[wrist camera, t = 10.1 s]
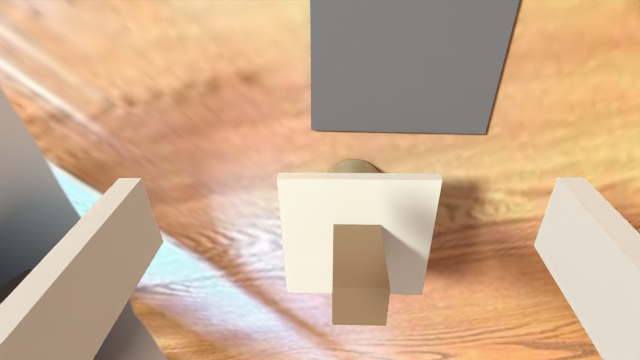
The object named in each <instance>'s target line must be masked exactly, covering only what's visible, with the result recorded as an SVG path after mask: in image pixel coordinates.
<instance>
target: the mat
mask: <svg viewBox="0 0 640 360" xmlns="http://www.w3.org/2000/svg"><path fill="white" fill-rule="evenodd" d="M519 1H520V0H310V9H311V130H316V131H363V132H409V133H456V134H485V133H486V129H487V125H488V121H489V117H490V113H491V109H492V106H493V102H494V98H495V94H496V90H497V86H498V82H499V78H500V75H501V71H502V67H503V63H504V59H505V55H506V51H507V47H508V44H509V40H510V36H511V32H512V28H513V24H514V20H515V16H516V13H517V9H518V5H519Z"/></svg>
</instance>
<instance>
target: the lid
mask: <svg viewBox="0 0 640 360" xmlns="http://www.w3.org/2000/svg"><path fill="white" fill-rule="evenodd" d="M441 185H442V178H441V176H440V173H278V177H277V186H278V197H279V208H280V219H281V229H282V240H283V251H284V262H285V273H286V283H287V292H298V293H332V322H333V324H335V325H380V326H386V321H387V312H388V304H389V295H390V294H406V295H422V292H423V286H424V281H425V275H426V269H427V264H428V258H429V253H430V247H431V241H432V236H433V230H434V224H435V219H436V213H437V208H438V202H439V196H440V191H441Z"/></svg>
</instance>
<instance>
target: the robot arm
mask: <svg viewBox="0 0 640 360" xmlns="http://www.w3.org/2000/svg"><path fill="white" fill-rule="evenodd" d="M162 243H163V239H162V236H161V234H160V231H159V228H158V225H157V222H156V219H155V216H154V213H153V210H152V207H151V204H150V202H149V199H148V196H147V193H146V190H145V187H144V184H143V181H142V178H119V179H118V180H117V181H116V182H115V183H114V184H113V185H112V186H111V187H110V188H109V189H108V191H107V192H106V193H105V194H104V195H103V196H102V197H101V198H100V199H99V200H98V201H97V202H96V203H95V204H94V205H93V207H92V208H91V209H90V210H89V211H88V212H87V213H86V214H85V215H84V216H83V217H82V218H81V219H80V220H79V221H78V223H77V224H76V225H75V226H74V227H73V228H72V229H71V230H70V231H69V232H68V233H67V234H66V235H65V236H64V237H63V238H62V240H61V241H60V242H59V243H58V244H57V245H56V246H55V247H54V248H53V249H52V250H51V251H50V252H49V253H48V254H47V255H46V257H45V258H44V259H43V260H42V261H41V262H40V263H39V264H38V265H37V266H36V267H35V268H34V269H33V270H25V271H24V272H22V273H21V274H19V275H18V276H17V277H15V278H13V279H12V280H10V281H9V282H7V283H6V284H5V285H4V286H3V287H2V288H1V289H0V360H93V358H94V356H95V355H96V353H97V351H98V350H99V348H100V346H101V345H102V343H103V341H104V339H105V338H106V336H107V335H108V333H109V331H110V330H111V328H112V326H113V324H114V323H115V321H116V320H117V318H118V316H119V315H120V313H121V311H122V309H123V308H124V306H125V305H126V303H127V301H128V300H129V298H130V296H131V295H132V293H133V291H134V290H135V288H136V286H137V285H138V283H139V281H140V280H141V278H142V276H143V275H144V273H145V271H146V270H147V268H148V266H149V265H150V263H151V261H152V260H153V258H154V256H155V255H156V253H157V251H158V250H159V248H160V246H161V245H162ZM534 247H535V248H536V250H537V252H538V253H539V255H540V256H541V258H542V260H543V261H544V263H545V265H546V266H547V268H548V270H549V271H550V273H551V275H552V276H553V278H554V280H555V281H556V283H557V285H558V286H559V288H560V289H561V291H562V293H563V294H564V296H565V298H566V299H567V301H568V303H569V304H570V306H571V308H572V309H573V311H574V313H575V314H576V316H577V318H578V319H579V321H580V322H581V324H582V326H583V327H584V329H585V331H586V332H587V334H588V336H589V337H590V339H591V341H592V342H593V344H594V346H595V347H596V349H597V351H598V352H599V354H600V355H601V357H602V359H603V360H640V234H639V233H638V232H637V231H636V230H635V229H634V228H633V227H632V226H631V225H630V224H629V223H628V222H627V221H626V220H625V219H624V218H623V217H622V216H621V215H620V214H619V213H618V211H617V210H616V209H615V208H614V207H613V206H612V205H611V204H610V203H609V202H608V201H607V200H606V199H605V198H604V197H603V196H602V195H601V194H600V193H599V192H598V191H597V190H596V189H595V188H594V187H593V186H592V185H591V184H590V183H589V182H588V181H587V180H586V179H585V178H584V177H558V178H557V181H556V183H555V186H554V189H553V192H552V195H551V198H550V201H549V204H548V206H547V209H546V212H545V215H544V218H543V221H542V224H541V226H540V229H539V232H538V235H537V238H536V241H535V244H534Z"/></svg>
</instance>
